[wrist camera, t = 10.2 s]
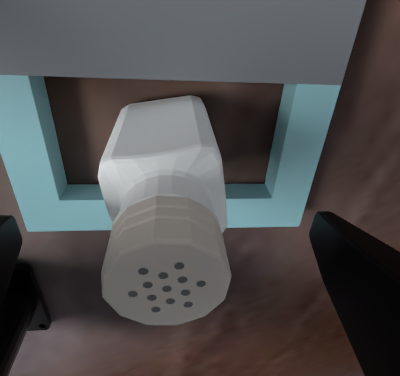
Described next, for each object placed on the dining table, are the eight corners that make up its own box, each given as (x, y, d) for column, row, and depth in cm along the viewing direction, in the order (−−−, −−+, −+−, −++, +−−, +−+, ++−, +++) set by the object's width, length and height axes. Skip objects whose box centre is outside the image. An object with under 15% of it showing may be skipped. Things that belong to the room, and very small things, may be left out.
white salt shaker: (202, 89, 14) (244, 212, 6) (210, 163, 16) (250, 323, 8) (118, 102, 14) (53, 241, 6) (138, 174, 16) (108, 345, 8)
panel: (290, 210, 19) (299, 226, 17) (37, 214, 17) (27, 231, 16) (453, -400, 8) (507, -475, 7) (-192, -536, 6) (-282, -667, 5)
